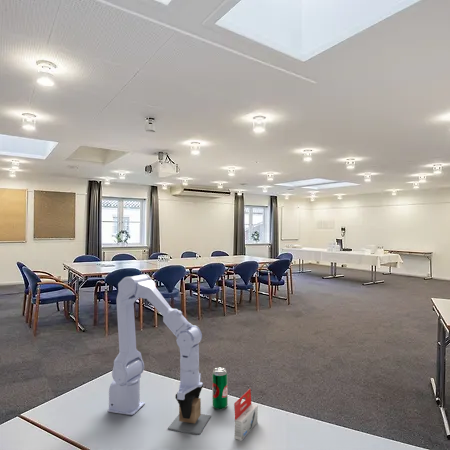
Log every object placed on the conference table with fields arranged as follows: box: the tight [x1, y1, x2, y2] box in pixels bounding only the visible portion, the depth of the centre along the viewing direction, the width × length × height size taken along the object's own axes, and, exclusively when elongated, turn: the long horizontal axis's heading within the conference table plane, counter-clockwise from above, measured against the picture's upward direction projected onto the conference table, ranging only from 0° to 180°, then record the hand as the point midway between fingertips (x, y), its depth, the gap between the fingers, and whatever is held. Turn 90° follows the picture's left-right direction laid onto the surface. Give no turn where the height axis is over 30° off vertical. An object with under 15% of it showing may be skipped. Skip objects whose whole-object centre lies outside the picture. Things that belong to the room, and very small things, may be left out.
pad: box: [167, 413, 212, 435], centre depth 102 cm, size 10×10×1 cm
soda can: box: [211, 367, 229, 410], centre depth 112 cm, size 5×5×12 cm
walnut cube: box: [178, 397, 202, 423], centre depth 102 cm, size 5×5×5 cm
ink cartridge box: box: [233, 388, 259, 442], centre depth 98 cm, size 2×11×10 cm, turn 151°
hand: (189, 413), depth 102 cm, fingers closed on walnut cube, 5 cm apart
